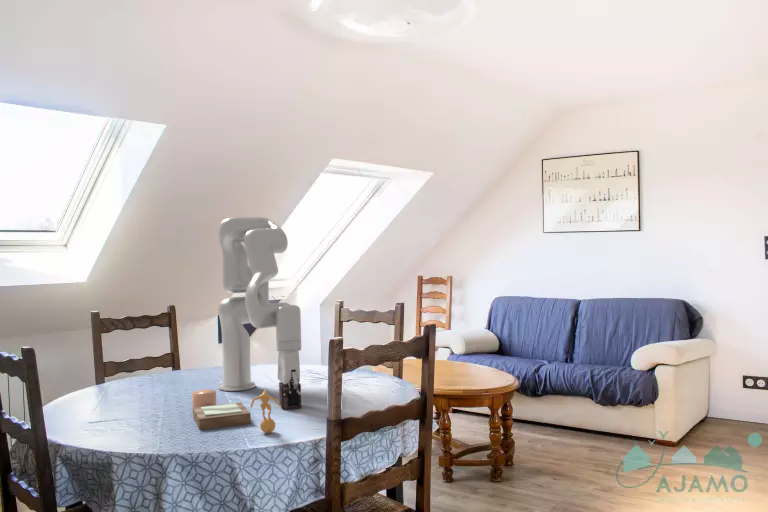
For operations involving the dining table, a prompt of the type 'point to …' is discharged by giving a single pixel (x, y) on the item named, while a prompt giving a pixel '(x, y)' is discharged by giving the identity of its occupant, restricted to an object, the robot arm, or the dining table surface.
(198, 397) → the peach rounded block
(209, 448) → the dining table surface
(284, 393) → the box
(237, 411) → the stand
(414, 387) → the dining table surface
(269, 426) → the figurine
